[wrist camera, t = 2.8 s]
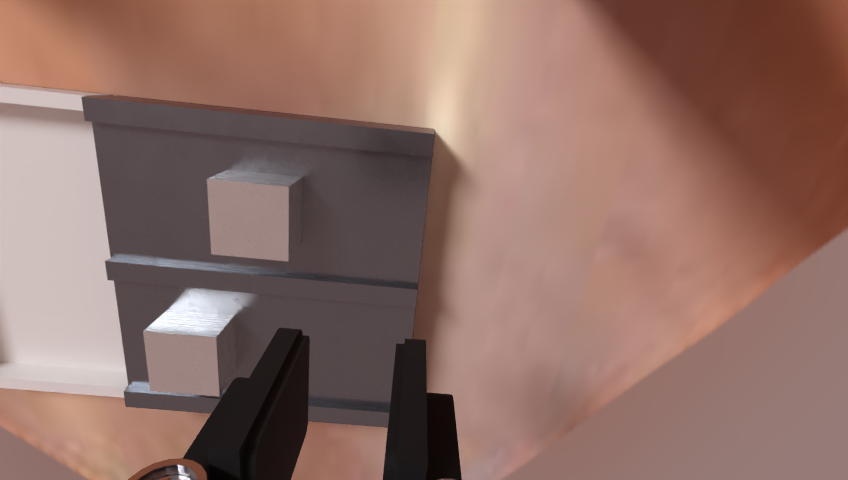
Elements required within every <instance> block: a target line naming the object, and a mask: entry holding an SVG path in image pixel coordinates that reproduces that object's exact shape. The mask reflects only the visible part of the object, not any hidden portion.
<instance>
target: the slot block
mask: <svg viewBox="0 0 848 480" xmlns="http://www.w3.org/2000/svg"><path fill="white" fill-rule="evenodd" d="M81 98H82V105H83V112H84V119H85V121H89V122H92V127H93V134H94V141H95V148H96V156H97V163H98V170H99V177H100V185H101V192H102V199H103V206H104V213H105V221H106V228H107V235H108V242H109V250H110V257H111V258H110V259H108V260H106V261H105V266H106V273H107V280H111V281H114V286H115V293H116V300H117V307H118V315H119V322H120V329H121V336H122V343H123V351H124V358H125V365H126V372H127V380H128V387H127V388H126V389H125V390H124V398H125V405H126V407H136V408H149V409H162V410H174V411H187V412H199V413H212V412H213V411H214V409H215V407H216V406H217V404H218V403H219V401H220V400H221V398H222V397H223V395H224V393H225V392H226V390H227V389H228V387H229V386H230V384H231V383H232V381H233V380H234V379H235V378H237V377H244V378H249V377H250V375H251V374H252V372H253V370H254V369H255V367H256V365H257V364H258V362H259V360H260V358H261V357H262V355H263V353H264V352H265V350H266V348H267V347H268V345H269V343H270V342H271V340H272V338H273V337H274V335H275V333H276V331H277V330H278V329H279V328H291V329H301V330H302V332H303V335H306V336H309V338H310V352H309V398H308V421H313V422H326V423H338V424H351V425H363V426H376V427H388V422H389V412H390V402H391V392H392V381H393V371H394V361H395V351H396V343H398V344H404V342H405V338H406V339H412V335H413V326H414V317H415V308H416V302H417V293H418V280H419V271H420V262H421V253H422V244H423V235H424V225H425V216H426V207H427V198H428V189H429V179H430V170H431V161H432V155H433V146H434V137H435V133H434V129H429V128H420V127H411V126H401V125H392V124H382V123H373V122H364V121H354V120H345V119H335V118H326V117H317V116H307V115H298V114H288V113H279V112H269V111H260V110H251V109H241V108H232V107H222V106H213V105H204V104H194V103H185V102H175V101H166V100H156V99H147V98H138V97H128V96H87V97H81ZM226 170H235V171H245V172H255V173H265V174H275V175H285V176H295V177H302V188H301V246H300V247H299V248H298V250H297V251H296V252H295V254H294V255H293V256H292V258H291V259H290V260H289V261H277V260H267V259H256V258H245V257H234V256H224V255H213V254H211V241H210V224H209V207H208V190H207V179H208V178H210V177H212V176H215V175H217V174H219V173H222V172H224V171H226ZM167 310H176V311H188V312H199V313H210V314H222V315H233V316H234V326H235V350H236V372H235V374H234V375H233V377H232V378H231V380H230V381H229V383H228V384H227V386H226V387H225V389H224V390H223V392H222V393H221V395H220V397H219V396H207V395H194V394H182V393H170V392H157V391H150V385H149V377H148V368H147V360H146V352H145V343H144V335H143V331H144V330H145V329H146V328H147V327H148V326H150V325H151V324H152V323H153V322H154V321H155V320H156V319H158V318H159V317H160V316H161V315H162V314H163V313H164V312H166V311H167Z"/></svg>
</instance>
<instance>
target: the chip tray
mask: <svg viewBox="0 0 848 480" xmlns="http://www.w3.org/2000/svg"><path fill="white" fill-rule="evenodd" d="M87 96H113V95H109V94H100V93H91V92H81V91H72V90H62V89H53V88H44V87H34V86H25V85H15V84H6V83H0V388H10V389H22V390H34V391H47V392H59V393H72V394H84V395H97V396H109V397H122V398H124V390H125V389H126V388H127V387H128V380H127V372H126V365H125V358H124V351H123V343H122V336H121V329H120V322H119V315H118V307H117V300H116V293H115V286H114V281H111V280H107V273H106V266H105V261H106V260H108V259H110V258H111V257H110V250H109V242H108V235H107V228H106V221H105V213H104V206H103V199H102V192H101V185H100V177H99V170H98V163H97V156H96V148H95V141H94V134H93V127H92V122H89V121H85V119H84V112H83V105H82V98H81V97H87Z"/></svg>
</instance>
